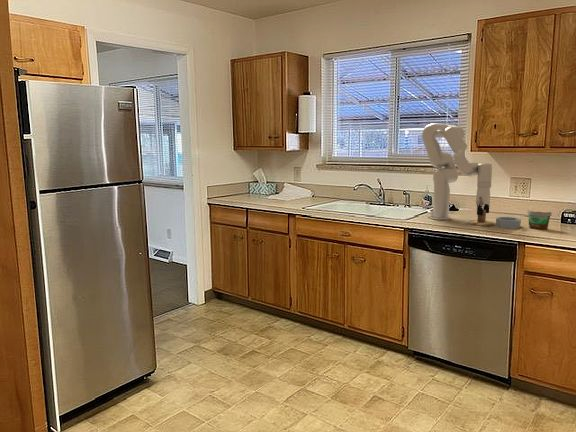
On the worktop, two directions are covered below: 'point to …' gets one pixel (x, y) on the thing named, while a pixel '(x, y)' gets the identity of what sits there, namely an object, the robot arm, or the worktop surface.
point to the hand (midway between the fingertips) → (482, 213)
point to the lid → (481, 220)
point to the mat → (481, 226)
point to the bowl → (508, 222)
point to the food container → (539, 220)
